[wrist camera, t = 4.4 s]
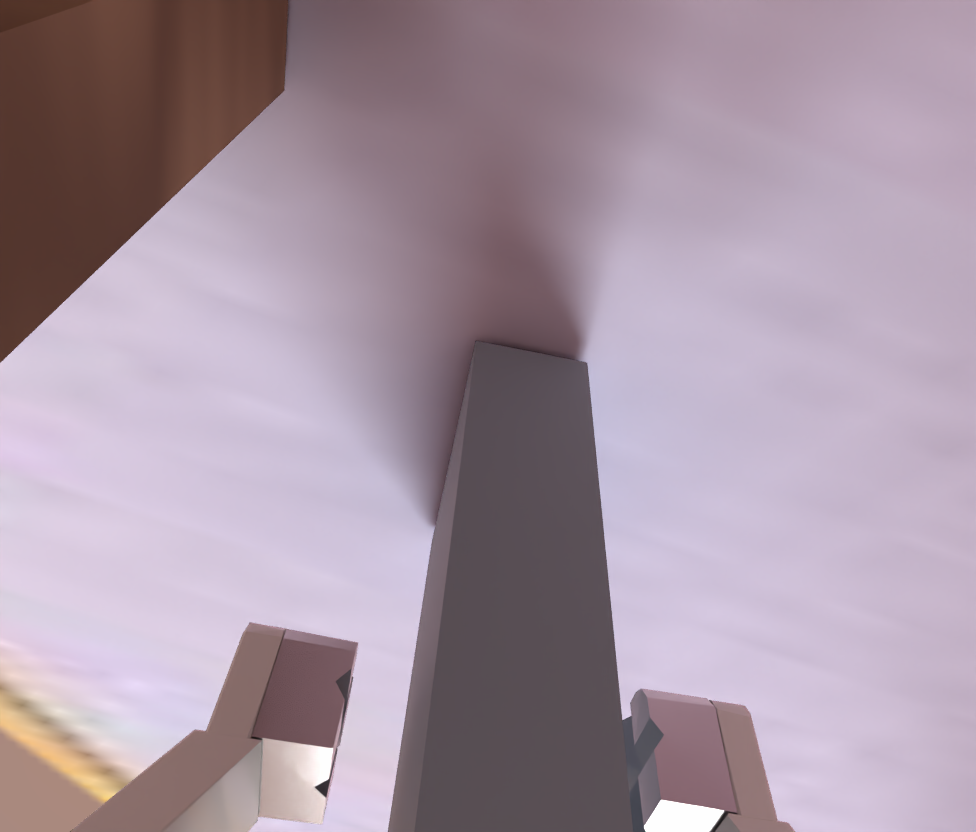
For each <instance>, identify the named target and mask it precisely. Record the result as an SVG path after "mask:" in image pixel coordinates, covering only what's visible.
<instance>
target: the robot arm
mask: <svg viewBox="0 0 976 832" xmlns="http://www.w3.org/2000/svg"><path fill="white" fill-rule="evenodd" d="M357 648H358V642H353V641H348V640H342V639H337V638H332V637H326V636H321V635H316V634H311V633H305V632H300V631H295V630H289V629H285V628H279V627H273V626H268V625H262V624H256V623H249V625H248V626H247V628H246V629H245V631H244V632H243V634H242V637H241V640H240V642H239V645H238V648H237V650H236V653H235V656H234V658H233V661H232V664H231V666H230V669H229V671H228V674H227V677H226V679H225V682H224V685H223V687H222V690H221V693H220V695H219V698H218V701H217V703H216V706H215V709H214V711H213V714H212V716H211V719H210V722H209V724H208V727H207V730H206V731H203V730H194V731H192V732H191V733H190V734H189V735H187V736H186V737H185V738H184V739H183V740H181V741H180V742H179V743H178V744H176V745H175V746H174V747H173V748H172V749H170V750H169V751H168V752H167V753H165V754H164V755H163V756H162V757H160V758H159V759H158V760H157V761H156V762H154V763H153V764H152V765H151V766H149V767H148V768H147V769H146V770H145V771H143V772H142V773H141V774H140V775H138V776H137V777H136V778H135V779H134V780H132V781H131V782H130V783H129V784H127V785H126V786H125V787H124V788H123V789H121V790H120V791H119V792H118V793H116V794H115V795H114V796H113V797H111V798H110V799H109V800H108V801H107V802H105V803H104V804H103V805H102V806H100V807H99V808H98V809H97V810H96V811H94V812H93V813H92V814H91V815H89V816H88V817H87V818H86V819H85V820H83V821H82V822H81V823H80V824H78V825H77V826H76V827H75V828H74V829H72V830H71V831H70V832H248V831H249V830H250V829H251V828H252V827H253V826H254V824H255V823H256V822H257V821H258V817H266V818H274V819H282V820H290V821H299V822H307V823H315V824H322V822H323V818H324V814H325V809H326V805H327V800H328V796H329V792H330V787H331V783H332V778H333V773H334V767H335V761H336V755H337V747H338V746H339V745H340V742H341V737H342V733H343V728H344V723H345V718H346V713H347V708H348V704H349V698H350V693H351V687H352V681H353V677H352V675H353V671H354V666H355V661H356V656H357ZM630 705H631V715H632V716H630V717H628V718H626V719H624V720H622V723H623V734H624V744H625V754H626V764H627V774H628V785H629V795H630V805H631V815H632V825H633V832H795V831H794V829H793V828H792V827H791V826H790V824H789V823H787V822H782V821H778V820H777V816H776V812H775V808H774V804H773V800H772V796H771V792H770V788H769V784H768V780H767V777H766V773H765V769H764V765H763V761H762V757H761V753H760V749H759V745H758V741H757V737H756V734H755V730H754V726H753V722H752V718H751V714H750V712H749V711H748V710H747V708H746V707H745V706H743V705H739V704H733V703H726V702H719V701H712V700H708V699H707V698H701V697H694V696H687V695H681V694H674V693H668V692H661V691H654V690H648V689H640V690H639V691H637V692H636V693H635V695H634V697H633V699H632V701H631V702H630Z"/></svg>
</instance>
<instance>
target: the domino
mask: <svg viewBox="0 0 976 832" xmlns="http://www.w3.org/2000/svg"><path fill="white" fill-rule="evenodd" d="M287 16H288V0H0V362H1V361H2V360H4V359H5V358H6V357H7V356H8V355H9V354H10V353H11V352H12V351H13V350H14V349H15V348H16V347H17V346H18V345H19V344H20V343H21V342H22V341H23V340H24V339H25V338H26V337H28V336H29V335H30V334H31V333H32V332H33V331H34V330H35V329H36V328H37V327H38V326H39V325H40V324H41V323H42V322H43V321H44V320H45V319H46V318H47V317H48V316H49V315H50V314H52V313H53V312H54V311H55V310H56V309H57V308H58V307H59V306H60V305H61V304H62V303H63V302H64V301H65V300H66V299H67V298H68V297H69V296H70V295H71V294H72V293H73V292H74V291H76V290H77V289H78V288H79V287H80V286H81V285H82V284H83V283H84V282H85V281H86V280H87V279H88V278H89V277H90V276H91V275H92V274H93V273H94V272H95V271H96V270H97V269H98V268H99V267H101V266H102V265H103V264H104V263H105V262H106V261H107V260H108V259H109V258H110V257H111V256H112V255H113V254H114V253H115V252H116V251H117V250H118V249H119V248H120V247H121V246H122V245H123V244H125V243H126V242H127V241H128V240H129V239H130V238H131V237H132V236H133V235H134V234H135V233H136V232H137V231H138V230H139V229H140V228H141V227H142V226H143V225H144V224H145V223H146V222H147V221H149V220H150V219H151V218H152V217H153V216H154V215H155V214H156V213H157V212H158V211H159V210H160V209H161V208H162V207H163V206H164V205H165V204H166V203H167V202H168V201H169V200H170V199H171V198H173V197H174V196H175V195H176V194H177V193H178V192H179V191H180V190H181V189H182V188H183V187H184V186H185V185H186V184H187V183H188V182H189V181H190V180H191V179H192V178H193V177H194V176H195V175H196V174H198V173H199V172H200V171H201V170H202V169H203V168H204V167H205V166H206V165H207V164H208V163H209V162H210V161H211V160H212V159H213V158H214V157H215V156H216V155H217V154H218V153H219V152H220V151H222V150H223V149H224V148H225V147H226V146H227V145H228V144H229V143H230V142H231V141H232V140H233V139H234V138H235V137H236V136H237V135H238V134H239V133H240V132H241V131H242V130H243V129H244V128H246V127H247V126H248V125H249V124H250V123H251V122H252V121H253V120H254V119H255V118H256V117H257V116H258V115H259V114H260V113H261V112H262V111H263V110H264V109H265V108H266V107H267V106H268V105H270V104H271V103H272V102H273V101H274V100H275V99H276V98H277V97H278V96H279V95H280V94H281V93H282V92H283V91H284V85H285V62H286V39H287Z"/></svg>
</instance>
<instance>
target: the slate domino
mask: <svg viewBox="0 0 976 832" xmlns="http://www.w3.org/2000/svg"><path fill="white" fill-rule="evenodd" d="M388 832H633V825H632V815H631V805H630V795H629V785H628V774H627V764H626V754H625V744H624V734H623V723H622V713H621V703H620V693H619V683H618V672H617V662H616V652H615V642H614V632H613V621H612V611H611V601H610V591H609V581H608V570H607V560H606V550H605V540H604V530H603V519H602V509H601V499H600V489H599V478H598V468H597V458H596V448H595V438H594V427H593V417H592V407H591V397H590V387H589V376H588V366H587V363H586V362H581V361H576V360H571V359H566V358H561V357H556V356H551V355H546V354H541V353H536V352H531V351H526V350H521V349H516V348H510V347H505V346H500V345H495V344H490V343H485V342H480V341H476V342H475V346H474V351H473V356H472V360H471V365H470V369H469V374H468V379H467V383H466V388H465V392H464V397H463V401H462V406H461V411H460V415H459V420H458V424H457V429H456V434H455V438H454V443H453V447H452V452H451V456H450V461H449V466H448V470H447V475H446V479H445V484H444V489H443V493H442V498H441V502H440V507H439V512H438V516H437V521H436V525H435V530H434V534H433V539H432V544H431V551H430V558H429V564H428V571H427V577H426V584H425V590H424V597H423V604H422V610H421V617H420V623H419V630H418V637H417V643H416V650H415V656H414V663H413V669H412V676H411V683H410V689H409V696H408V702H407V709H406V716H405V722H404V729H403V735H402V742H401V748H400V755H399V762H398V768H397V775H396V781H395V788H394V794H393V801H392V808H391V814H390V821H389V827H388Z"/></svg>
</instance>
